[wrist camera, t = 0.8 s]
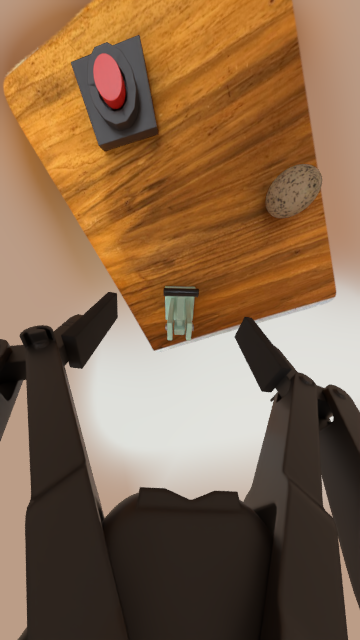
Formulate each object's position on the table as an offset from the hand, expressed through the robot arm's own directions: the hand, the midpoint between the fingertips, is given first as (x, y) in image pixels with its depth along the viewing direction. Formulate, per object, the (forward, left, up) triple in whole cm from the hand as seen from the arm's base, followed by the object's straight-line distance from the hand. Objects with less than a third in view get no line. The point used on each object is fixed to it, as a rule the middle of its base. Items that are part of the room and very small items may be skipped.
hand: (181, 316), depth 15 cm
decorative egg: (-22, -9, -25) cm, 35 cm away
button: (+4, -26, -22) cm, 34 cm away
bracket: (+2, +10, -25) cm, 27 cm away
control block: (+4, -26, -25) cm, 36 cm away
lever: (+1, +5, -11) cm, 13 cm away
